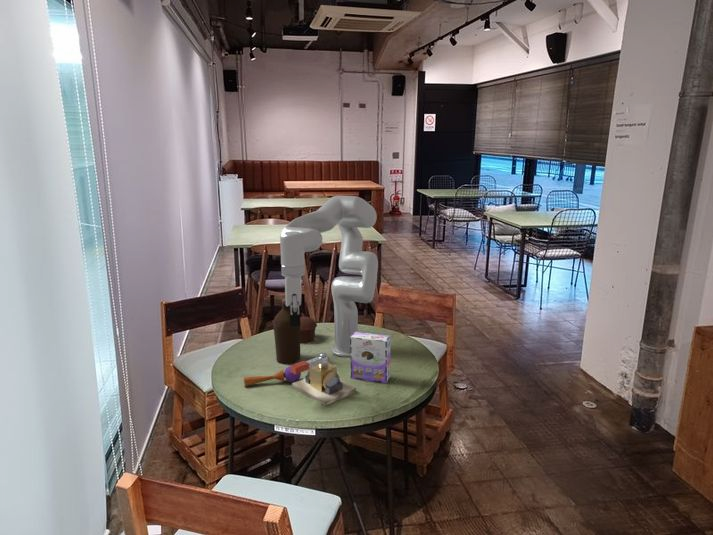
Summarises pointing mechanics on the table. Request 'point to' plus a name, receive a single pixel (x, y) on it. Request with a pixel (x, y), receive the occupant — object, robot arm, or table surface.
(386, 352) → the candy box
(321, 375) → the pipe and valve body
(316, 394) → the mounting board
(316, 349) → the table surface
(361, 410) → the table surface
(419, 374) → the table surface
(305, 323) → the muffin
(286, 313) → the olive oil
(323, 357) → the lever
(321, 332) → the table surface
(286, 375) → the kendama
